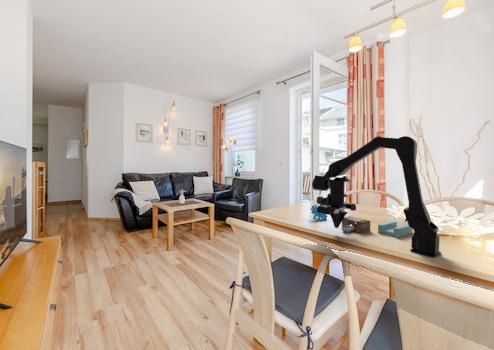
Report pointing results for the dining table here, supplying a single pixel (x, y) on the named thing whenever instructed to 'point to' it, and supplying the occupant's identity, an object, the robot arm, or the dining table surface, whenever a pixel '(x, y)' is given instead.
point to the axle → (349, 228)
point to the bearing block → (357, 223)
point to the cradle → (394, 229)
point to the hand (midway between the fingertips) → (336, 227)
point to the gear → (318, 214)
